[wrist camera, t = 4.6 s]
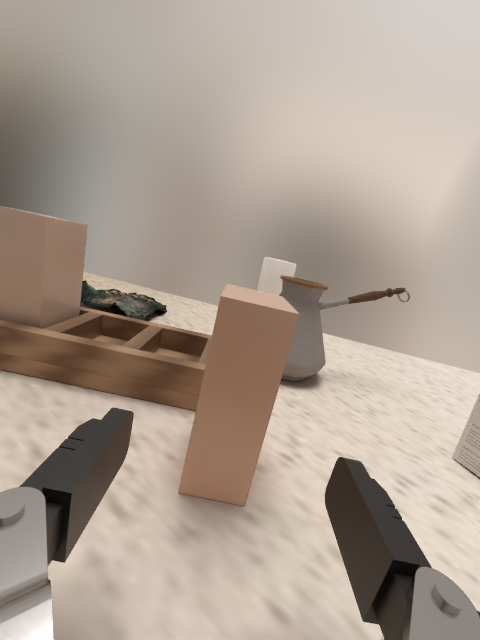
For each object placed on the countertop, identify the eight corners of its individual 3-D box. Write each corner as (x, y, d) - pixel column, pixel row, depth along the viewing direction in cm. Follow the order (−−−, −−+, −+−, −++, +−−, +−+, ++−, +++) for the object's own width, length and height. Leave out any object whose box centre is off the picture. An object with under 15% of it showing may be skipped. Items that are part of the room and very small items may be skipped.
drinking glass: (275, 329, 61) (293, 263, 57) (280, 338, 54) (300, 264, 51) (246, 322, 60) (262, 256, 57) (247, 331, 54) (266, 256, 50)
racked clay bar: (-5, 340, 25) (-3, 205, 22) (42, 324, 31) (49, 215, 28) (38, 350, 25) (46, 216, 22) (77, 332, 31) (87, 225, 28)
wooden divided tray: (-49, 359, 23) (-50, 314, 22) (37, 328, 33) (39, 297, 32) (201, 411, 24) (210, 371, 23) (213, 367, 34) (219, 337, 33)
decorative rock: (100, 273, 57) (171, 283, 60) (99, 302, 58) (169, 309, 61) (58, 278, 39) (164, 291, 42) (57, 319, 40) (160, 329, 43)
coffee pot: (247, 381, 32) (280, 256, 29) (236, 347, 43) (258, 253, 40) (399, 403, 36) (443, 296, 33) (353, 367, 47) (382, 283, 44)
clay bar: (178, 492, 16) (220, 295, 13) (195, 429, 22) (227, 283, 19) (244, 506, 16) (299, 314, 13) (244, 439, 22) (282, 296, 19)
